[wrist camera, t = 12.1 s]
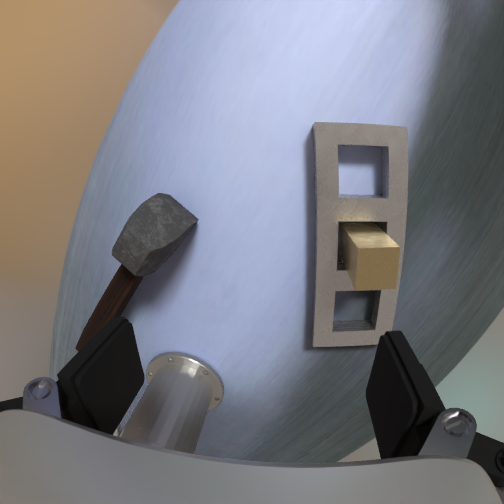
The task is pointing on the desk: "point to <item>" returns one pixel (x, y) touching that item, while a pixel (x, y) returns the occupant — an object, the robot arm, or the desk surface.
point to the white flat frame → (355, 209)
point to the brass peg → (369, 256)
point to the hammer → (140, 255)
